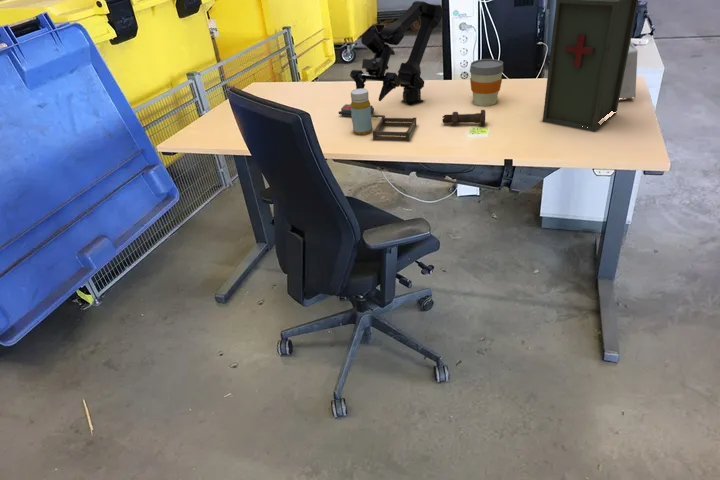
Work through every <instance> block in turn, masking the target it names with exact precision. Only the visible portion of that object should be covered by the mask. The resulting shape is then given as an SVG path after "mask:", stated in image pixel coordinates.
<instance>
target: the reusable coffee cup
mask: <svg viewBox="0 0 720 480" xmlns="http://www.w3.org/2000/svg"><path fill="white" fill-rule="evenodd" d="M503 72H504V61H502V60H500V59H495V58H481V59H476V60H474V61H472V62H471V63H470V66H469V73H470V78H469V80H470V91H471V93H472V101H473V102H472V103H473V104H474V105H476V106H480V107H488V106H494V105H495V104H497V101H498V96H499V92H500V90H501V87H502V82H503V77H502V76H503Z"/></svg>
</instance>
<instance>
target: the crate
mask: <svg viewBox="0 0 720 480" xmlns="http://www.w3.org/2000/svg"><path fill="white" fill-rule="evenodd" d="M385 127H402V128H403V127H404V128H405V127H407V130H406V131H387V130H386V131H385V130H384V131H383V129H384V128H385ZM416 127H417V117H386V116H385V117H380V121H379V122H378V124H377V125H376V127H375V128H374V130H373V129H372V140H373V141H394V142H395V141H397V142H399V141H400V142H410V140H411V137H412V136H413V133H414V131H415V129H416Z"/></svg>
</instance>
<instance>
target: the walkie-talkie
mask: <svg viewBox="0 0 720 480" xmlns="http://www.w3.org/2000/svg"><path fill="white" fill-rule="evenodd" d="M370 106H371V118H375V119H376V118H378V119H379V118H382V117H385V118H386V115H385V114H373V113H374V112H375V108H374V107H373V105H371V104H370ZM338 115H341V116H342V117H345V118H346V117H348V118H349V117H350V118H352V113H351V103H350V104H349V103H348V104H346V103H345V104H344V105H343V106H342V107H341V108H340V111H338Z"/></svg>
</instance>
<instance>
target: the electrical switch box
mask: <svg viewBox="0 0 720 480" xmlns="http://www.w3.org/2000/svg"><path fill="white" fill-rule="evenodd" d="M637 69H638V48H637V47H636V46H635V44H634V43H633V41H632V40H631V42H630V47H629V52H628V57H627V62H626V67H625V72H624V77H623V83H622V88H621V93H620V98H631V99H633V98H632V97H635V98H636V92H637V75H638V73H637V71H638V70H637ZM624 100H626V99H620V100H619V101H624Z"/></svg>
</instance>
